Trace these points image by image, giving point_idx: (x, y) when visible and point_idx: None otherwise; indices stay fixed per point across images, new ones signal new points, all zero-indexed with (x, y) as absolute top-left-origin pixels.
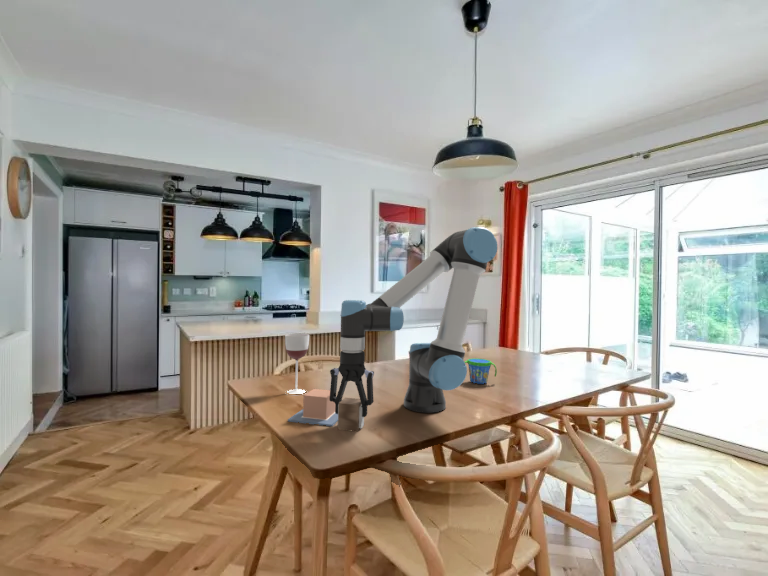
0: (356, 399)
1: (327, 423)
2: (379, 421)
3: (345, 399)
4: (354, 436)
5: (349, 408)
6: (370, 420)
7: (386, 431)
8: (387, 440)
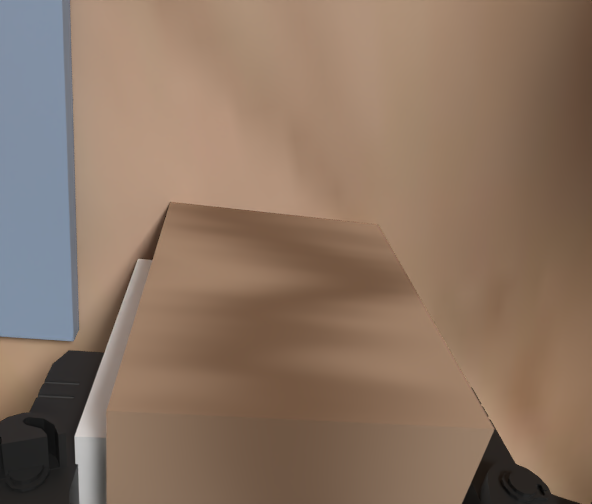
0: (360, 464)
1: (8, 323)
2: (562, 99)
3: (151, 501)
4: None
5: None
6: (459, 83)
7: (587, 334)
8: (564, 465)
